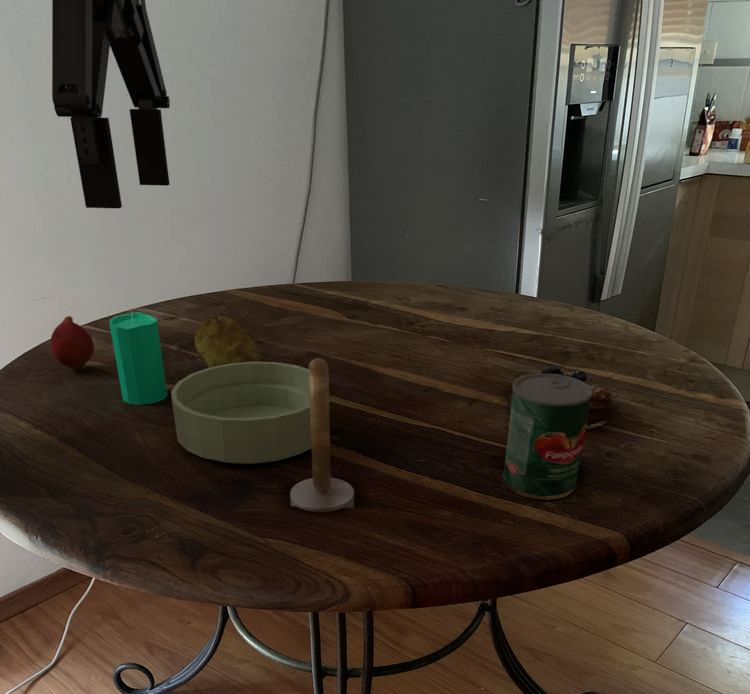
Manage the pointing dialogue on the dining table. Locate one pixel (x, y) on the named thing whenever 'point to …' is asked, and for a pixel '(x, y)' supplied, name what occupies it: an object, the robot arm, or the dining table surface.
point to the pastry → (598, 399)
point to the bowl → (244, 412)
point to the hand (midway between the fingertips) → (131, 195)
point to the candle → (138, 358)
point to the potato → (225, 342)
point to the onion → (71, 344)
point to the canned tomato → (546, 433)
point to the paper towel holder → (321, 452)
